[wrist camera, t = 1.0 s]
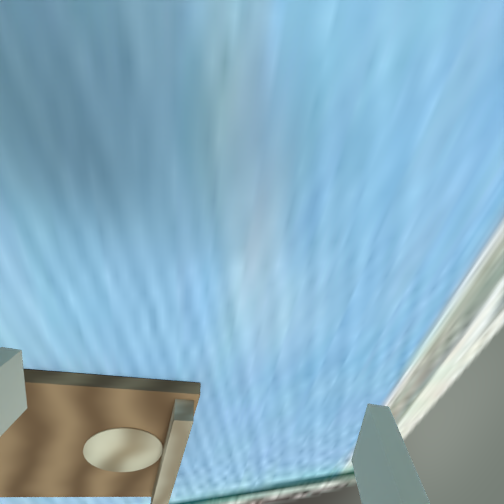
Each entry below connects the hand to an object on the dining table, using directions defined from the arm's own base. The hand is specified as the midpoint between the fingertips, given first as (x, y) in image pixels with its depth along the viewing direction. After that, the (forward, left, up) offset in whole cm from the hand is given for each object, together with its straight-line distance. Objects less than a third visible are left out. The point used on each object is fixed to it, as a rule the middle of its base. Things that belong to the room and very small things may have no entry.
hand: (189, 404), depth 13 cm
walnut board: (+17, -27, -17) cm, 36 cm away
